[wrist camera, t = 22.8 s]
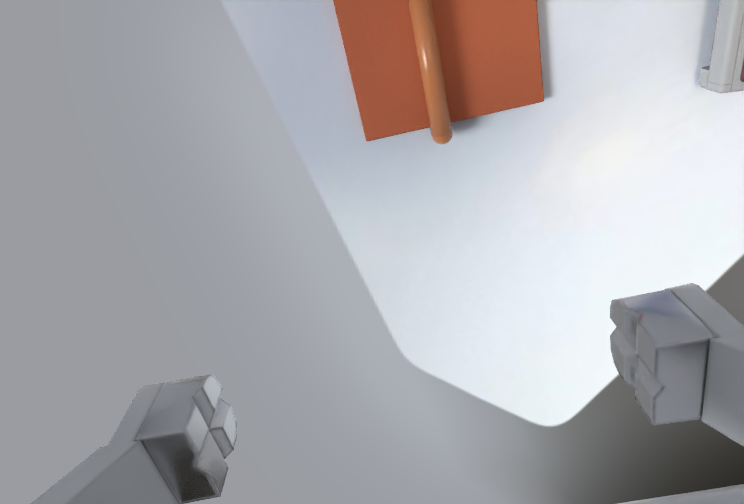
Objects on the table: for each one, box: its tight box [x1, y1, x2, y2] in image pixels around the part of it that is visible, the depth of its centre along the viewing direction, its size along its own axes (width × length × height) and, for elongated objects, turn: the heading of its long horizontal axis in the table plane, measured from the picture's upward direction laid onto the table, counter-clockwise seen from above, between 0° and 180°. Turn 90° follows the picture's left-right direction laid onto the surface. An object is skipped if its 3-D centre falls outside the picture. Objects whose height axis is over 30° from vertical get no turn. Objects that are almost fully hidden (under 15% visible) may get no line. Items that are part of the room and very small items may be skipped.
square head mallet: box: [408, 0, 453, 144], centre depth 36 cm, size 5×20×2 cm, turn 13°
